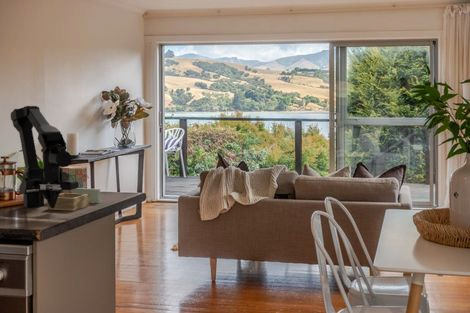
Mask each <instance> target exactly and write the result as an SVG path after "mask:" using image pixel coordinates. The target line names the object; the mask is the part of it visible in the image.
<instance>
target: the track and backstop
mask: <svg viewBox="0 0 470 313" xmlns="http://www.w3.org/2000/svg"><path fill="white" fill-rule="evenodd" d="M72 193H75V194H89V204H91V203H92V204H100V203H101V189H100V188H88V187H87V188H76V189H72Z"/></svg>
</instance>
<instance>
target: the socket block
mask: <svg viewBox="0 0 470 313" xmlns="http://www.w3.org/2000/svg"><path fill="white" fill-rule="evenodd" d="M46 202H47V201H46ZM46 204H47V206H46V207H47V210H54V211H55V210H56V211H77V210H80V209H83V208H86V207H89V206H90V203H89V194H75V193H62V194H59V196H58V198H57V201H56V204H55V207H54V208H51V207H50V205H49V204H48V202H47V203H46Z"/></svg>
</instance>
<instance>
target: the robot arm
mask: <svg viewBox="0 0 470 313" xmlns="http://www.w3.org/2000/svg"><path fill="white" fill-rule="evenodd" d="M40 110H41V109H40V107H39V106H37V105H26V106H24V107H20V108H14V109H13V110H12V111H11V112H10V120H11V121H12V122H11V123H12V126H13V127H14V128H15V129H16V131H17V132H18V133H19V134H18V135H19V138H20V145H21V150H22V155H23V156H22V157H23V161H24V168H25V169H24V170H23V173H22V180H21V182H20V185H19V187H18V190H19V193H20V194H21V195H22V197H23V207H24V208H27V209H35V208H40V207H44V206H45V200H46V202H48V204H49V205H50V207H51V208H54V207H55V204H56V201H57V198H58V196H59V194H60V192H61V191H62V190H72V189H76V188H79V183H78V182H77V180H69V175H70V174H68V173H65V172H63V171H62V167H69V166H70V165H71V162H72V156H71V154H70V152H68V151H67V148H68V147H67V143H66V140H65V139H64V137H63V134H62V132H61V131H60V129H58V128H57V127H56V126H52V125H51V124H50V123H49V121H48V120H47V119H46V118H45V116H44V115H43V114H42V112H41V111H40ZM33 128H34V129H35V131H36V132H37V133H38V135H37V141H38V143H39V144H40V146H41V149H40V152H41V153H42V167H41V166H40V165H39V160H38V156H37V150H36V145H35V139H34V133H33ZM52 187H53V188H52ZM36 189H37V190H36ZM42 193H43V194H42Z"/></svg>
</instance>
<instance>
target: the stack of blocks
mask: <svg viewBox="0 0 470 313" xmlns="http://www.w3.org/2000/svg"><path fill="white" fill-rule="evenodd" d="M62 171H63V172H65V173H68V174H70V175H69V180H77V182H78V183H79V188H88V167H87V166H80V165H79V166H76V165H75V166H73V165H72V166H67V167H62ZM35 190H37V189H35ZM64 193H72V190H64ZM42 194H43V193H42Z"/></svg>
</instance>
